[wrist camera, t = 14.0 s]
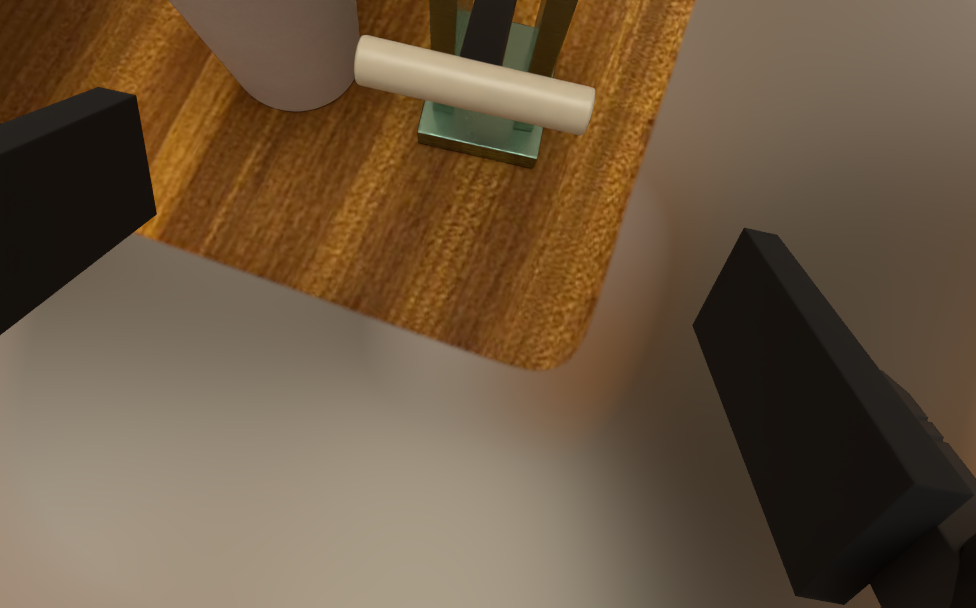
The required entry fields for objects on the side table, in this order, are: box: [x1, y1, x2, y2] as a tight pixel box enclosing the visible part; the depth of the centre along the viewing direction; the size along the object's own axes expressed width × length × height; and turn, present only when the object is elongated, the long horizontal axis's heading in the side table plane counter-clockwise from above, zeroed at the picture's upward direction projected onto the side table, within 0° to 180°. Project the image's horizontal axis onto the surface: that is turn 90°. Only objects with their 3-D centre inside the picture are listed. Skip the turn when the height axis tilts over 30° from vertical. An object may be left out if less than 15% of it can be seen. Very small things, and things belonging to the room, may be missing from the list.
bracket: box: [417, 0, 578, 168], centre depth 22 cm, size 7×6×13 cm
